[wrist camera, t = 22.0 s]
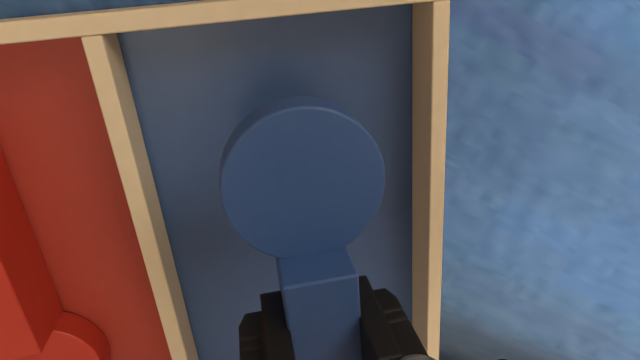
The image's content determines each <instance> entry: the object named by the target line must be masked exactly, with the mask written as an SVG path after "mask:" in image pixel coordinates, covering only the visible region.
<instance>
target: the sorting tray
mask: <svg viewBox="0 0 640 360" xmlns="http://www.w3.org/2000/svg"><path fill="white" fill-rule="evenodd" d="M449 22H450V0H201V1H190V2H179V3H169V4H158V5H147V6H136V7H126V8H115V9H104V10H94V11H83V12H72V13H62V14H51V15H40V16H30V17H19V18H8V19H0V149H1V151H2V154H3V157H4V159H5V162H6V164H7V167H8V169H9V172H10V175H11V177H12V180H13V182H14V185H15V187H16V190H17V192H18V195H19V198H20V200H21V203H22V205H23V208H24V210H25V213H26V216H27V218H28V221H29V223H30V226H31V228H32V231H33V233H34V236H35V239H36V241H37V244H38V246H39V249H40V251H41V254H42V256H43V259H44V262H45V264H46V267H47V269H48V272H49V274H50V277H51V280H52V282H53V285H54V287H55V290H56V292H57V295H58V297H59V300H60V303H61V305H62V308H63V311H64V312H69V313H73V314H76V315H78V316H81V317H83V318H85V319H87V320H89V321H90V322H92V323H93V324H94V325H96V326H97V327H98V328H99V329H100V330H101V331H102V333H103V334H104V336H105V337H106V339H107V341H108V344H109V348H110V359H109V360H240V351H239V325H240V323H241V321H242V319H243V317H244V315H245V314H247V313H252V312H257V311H262V310H261V300H260V294H263V293H268V292H274V291H279V290H280V285H279V278H278V271H277V264H276V257H273V256H270V255H267V254H264V253H262V252H260V251H258V250H256V249H254V248H253V247H252V246H250V245H249V244H247V243H246V242H245V241H244V240H243V239H241V238H240V237H239V236H238V235H237V233H236V232H235V231H234V230H233V229H232V227H231V226H230V224H229V222H228V221H227V219H226V217H225V214H224V212H223V209H222V205H221V202H220V195H219V176H220V162H221V157H222V153H223V150H224V147H225V145H226V143H227V141H228V139H229V137H230V135H231V134H232V132H233V131H234V129H235V128H236V127H237V126H238V124H239V123H240V122H241V121H242V120H243V119H244V118H245V117H247V116H248V115H249V114H250V113H251V112H253V111H254V110H256V109H257V108H259V107H261V106H263V105H265V104H267V103H269V102H272V101H275V100H278V99H281V98H286V97H293V96H309V97H316V98H321V99H325V100H327V101H330V102H333V103H335V104H337V105H339V106H341V107H342V108H344V109H345V110H347V111H348V112H349V113H351V114H352V115H353V116H354V117H355V118H356V119H357V120H358V121H359V122H360V123H361V124H362V125H363V126H364V127H365V128H366V129H367V131H368V132H369V133H370V134H371V136H372V137H373V138H374V140H375V142H376V143H377V145H378V147H379V149H380V152H381V154H382V157H383V162H384V166H385V188H384V194H383V198H382V201H381V204H380V206H379V209H378V211H377V213H376V215H375V216H374V218H373V220H372V221H371V223H370V224H369V225H368V227H367V228H366V229H365V230H364V231H363V232H362V233H361V234H360V235H359V236H358V237H357V238H356V239H355V240H353V241H352V242H351V243H350V244H348V245H346V246H345V247H346V249H347V251H348V253H349V255H350V258H351V260H352V262H353V264H354V267H355V269H356V271H357V273H358V275H359V276H363V275H366V276H367V278H368V280H369V282H370V284H371V286H372V289H373V290H376V289H382V288H386V289H387V290H388V291H390V292H391V293H392V294H394V295H395V296H396V297H397V299H398V300H399V302H400V304H401V306H402V308H403V311H405V313H406V315H407V317H408V320H409V321H410V323H411V324H412V326H413V328H414V330H415V332H416V334H417V335H418V337H419V339H420V341H421V343H422V345H423V347H424V348H425V350H426V352H427V354H428V355H429V356H430V357H432V358H434V359H436V360H439V335H440V304H441V273H442V241H443V210H444V179H445V147H446V116H447V85H448V53H449Z"/></svg>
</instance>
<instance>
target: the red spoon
mask: <svg viewBox="0 0 640 360" xmlns="http://www.w3.org/2000/svg"><path fill="white" fill-rule="evenodd" d="M109 359H110V348H109V344H108V341H107V339H106V337H105V336H104V334H103V333H102V331H101V330H100V329H99V328H98V327H97V326H96V325H94V324H93V323H92V322H90V321H89V320H87V319H85V318H83V317H81V316H78V315H76V314H73V313H69V312H64V311H63V308H62V305H61V303H60V300H59V297H58V295H57V292H56V290H55V287H54V285H53V282H52V280H51V277H50V274H49V272H48V269H47V267H46V264H45V262H44V259H43V256H42V254H41V251H40V249H39V246H38V244H37V241H36V239H35V236H34V233H33V231H32V228H31V226H30V223H29V221H28V218H27V216H26V213H25V210H24V208H23V205H22V203H21V200H20V198H19V195H18V192H17V190H16V187H15V185H14V182H13V180H12V177H11V175H10V172H9V169H8V167H7V164H6V162H5V159H4V157H3V154H2V151H1V149H0V360H109Z"/></svg>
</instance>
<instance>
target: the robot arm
mask: <svg viewBox="0 0 640 360" xmlns="http://www.w3.org/2000/svg"><path fill="white" fill-rule="evenodd" d="M359 292H360V309H361V317H359V318H360V335H361V352H362V360H436V359H434V358H432V357H430V356H429V355H428V354H427V352H426V350H425V348H424V347H423V345H422V343H421V341H420V339H419V337H418V335H417V334H416V332H415V330H414V328H413V326H412V324H411V323H410V321H409V320H408V317H407V315H406V313H405V311H403V308H402V306H401V304H400V302H399V300H398V299H397V297H396V296H395V295H394V294H392V293H391V292H390V291H388V290H387V289H386V288H382V289H376V290H373V289H372V286H371V284H370V282H369V280H368V278H367V276H366V275H363V276H359ZM260 300H261V310H262V311H257V312H252V313H247V314H245V315H244V317H243V319H242V321H241V323H240V325H239V351H240V360H295V355H294V349H293V344H292V338H291V333H290V331H289V330H288V329H287V324H286V319H285V313H284V307H283V301H282V296H281V290H279V291H274V292H268V293H263V294H260ZM499 360H505V359H499Z"/></svg>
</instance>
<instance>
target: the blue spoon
mask: <svg viewBox="0 0 640 360" xmlns="http://www.w3.org/2000/svg"><path fill="white" fill-rule="evenodd" d="M384 188H385V166H384V162H383V157H382V154H381V152H380V149H379V147H378V145H377V143H376V142H375V140H374V138H373V137H372V136H371V134H370V133H369V132H368V131H367V129H366V128H365V127H364V126H363V125H362V124H361V123H360V122H359V121H358V120H357V119H356V118H355V117H354V116H353V115H352V114H351V113H349V112H348V111H347V110H345V109H344V108H342V107H341V106H339V105H337V104H335V103H333V102H330V101H327V100H325V99H321V98H316V97H309V96H293V97H286V98H281V99H278V100H275V101H272V102H269V103H267V104H265V105H263V106H261V107H259V108H257V109H256V110H254V111H253V112H251V113H250V114H249V115H248V116H247V117H245V118H244V119H243V120H242V121H241V122H240V123H239V124H238V126H237V127H236V128H235V129H234V131H233V132H232V134H231V135H230V137H229V139H228V141H227V143H226V145H225V147H224V150H223V153H222V157H221V162H220V176H219V195H220V202H221V205H222V209H223V212H224V214H225V217H226V219H227V221H228V222H229V224H230V226H231V227H232V229H233V230H234V231H235V232H236V233H237V235H238V236H239V237H240V238H241V239H243V240H244V241H245V242H246V243H247V244H249V245H250V246H252V247H253V248H254V249H256V250H258V251H260V252H262V253H264V254H267V255H270V256H273V257H276V264H277V271H278V278H279V285H280V290H281V296H282V301H283V307H284V313H285V319H286V324H287V329H288V330H289V331H290V333H291V338H292V344H293V349H294V355H295V360H362V352H361V335H360V318H359V317H361V309H360V292H359V275H358V273H357V271H356V269H355V267H354V264H353V262H352V260H351V258H350V255H349V253H348V251H347V249H346V247H345V246H346V245H348V244H350V243H351V242H352V241H353V240H355V239H356V238H357V237H358V236H359V235H360V234H361V233H362V232H363V231H364V230H365V229H366V228H367V227H368V225H369V224H370V223H371V221H372V220H373V218H374V216H375V215H376V213H377V211H378V209H379V206H380V204H381V201H382V198H383V194H384Z"/></svg>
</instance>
